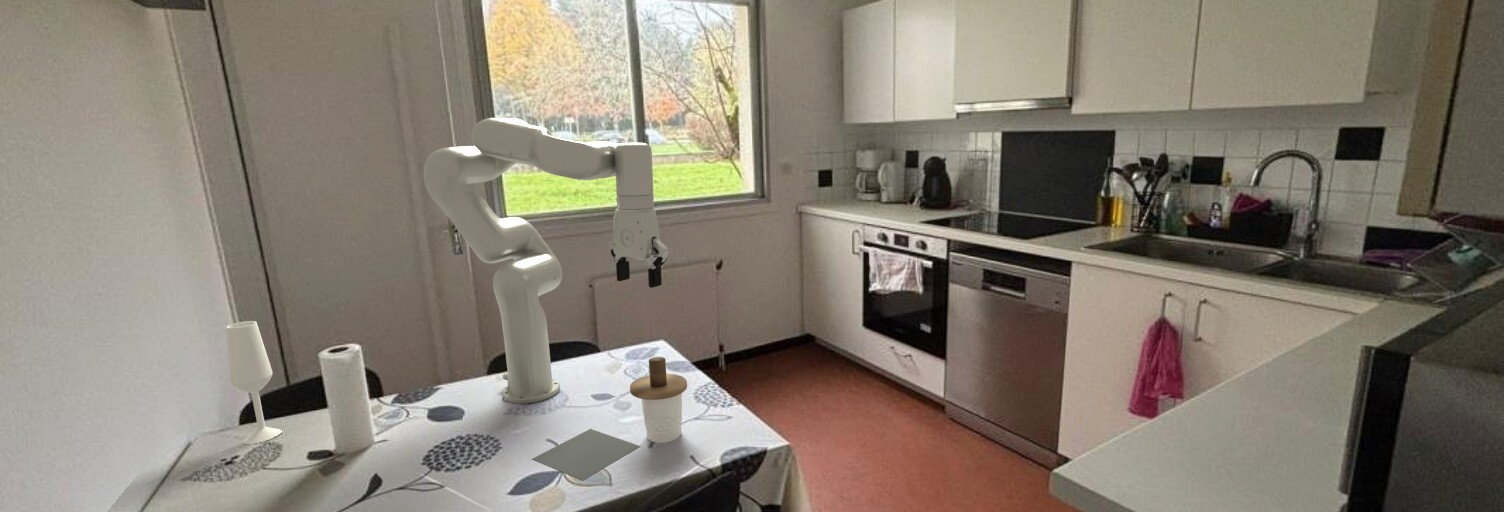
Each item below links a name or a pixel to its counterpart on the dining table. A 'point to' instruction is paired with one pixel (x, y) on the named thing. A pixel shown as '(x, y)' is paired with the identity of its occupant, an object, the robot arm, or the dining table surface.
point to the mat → (586, 454)
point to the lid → (658, 382)
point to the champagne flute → (250, 371)
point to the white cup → (663, 418)
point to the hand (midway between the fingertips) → (639, 283)
